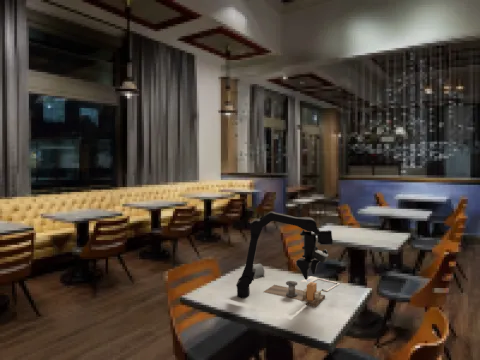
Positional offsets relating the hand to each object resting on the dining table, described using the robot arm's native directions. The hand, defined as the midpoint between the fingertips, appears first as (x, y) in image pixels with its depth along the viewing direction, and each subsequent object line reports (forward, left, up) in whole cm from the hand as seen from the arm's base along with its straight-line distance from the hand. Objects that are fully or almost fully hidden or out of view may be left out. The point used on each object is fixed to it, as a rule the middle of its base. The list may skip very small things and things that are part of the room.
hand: (309, 276), depth 165 cm
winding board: (+1, +9, -12) cm, 15 cm away
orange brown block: (0, -1, -10) cm, 10 cm away
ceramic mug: (+15, +38, -12) cm, 43 cm away
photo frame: (+24, +5, -13) cm, 27 cm away
